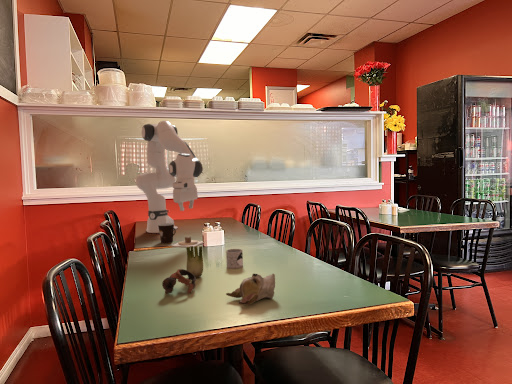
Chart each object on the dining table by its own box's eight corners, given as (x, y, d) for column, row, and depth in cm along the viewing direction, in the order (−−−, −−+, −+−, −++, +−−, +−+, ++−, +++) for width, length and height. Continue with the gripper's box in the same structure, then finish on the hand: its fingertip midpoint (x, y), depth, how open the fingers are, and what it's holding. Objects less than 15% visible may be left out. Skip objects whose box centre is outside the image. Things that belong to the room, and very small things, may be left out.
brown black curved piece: (175, 286, 129) (186, 266, 128) (192, 303, 124) (204, 282, 123) (150, 288, 119) (162, 266, 118) (168, 306, 114) (180, 283, 113)
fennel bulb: (204, 276, 139) (203, 244, 138) (198, 279, 134) (197, 247, 133) (191, 274, 141) (190, 244, 140) (184, 278, 136) (183, 246, 135)
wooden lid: (184, 241, 204) (184, 235, 204) (201, 241, 201) (201, 235, 201) (174, 245, 195) (174, 238, 194) (192, 245, 191) (191, 239, 191)
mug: (240, 268, 147) (240, 252, 147) (224, 268, 148) (224, 252, 148) (246, 262, 157) (245, 247, 156) (231, 262, 158) (230, 246, 158)
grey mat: (183, 241, 206) (183, 240, 206) (204, 242, 202) (204, 241, 202) (171, 246, 194) (171, 245, 194) (193, 247, 190) (193, 246, 190)
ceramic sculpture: (282, 272, 110) (237, 284, 103) (285, 300, 111) (240, 313, 104) (265, 265, 119) (223, 275, 113) (268, 290, 120) (225, 302, 113)
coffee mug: (157, 241, 208) (156, 224, 208) (172, 239, 212) (172, 222, 211) (161, 245, 198) (160, 226, 197) (177, 243, 201) (176, 225, 201)
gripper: (189, 182, 206) (190, 207, 207) (170, 185, 187) (171, 211, 188) (199, 182, 204) (200, 207, 205) (181, 185, 185) (182, 212, 186)
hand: (186, 209), depth 197 cm, fingers open, 8 cm apart
